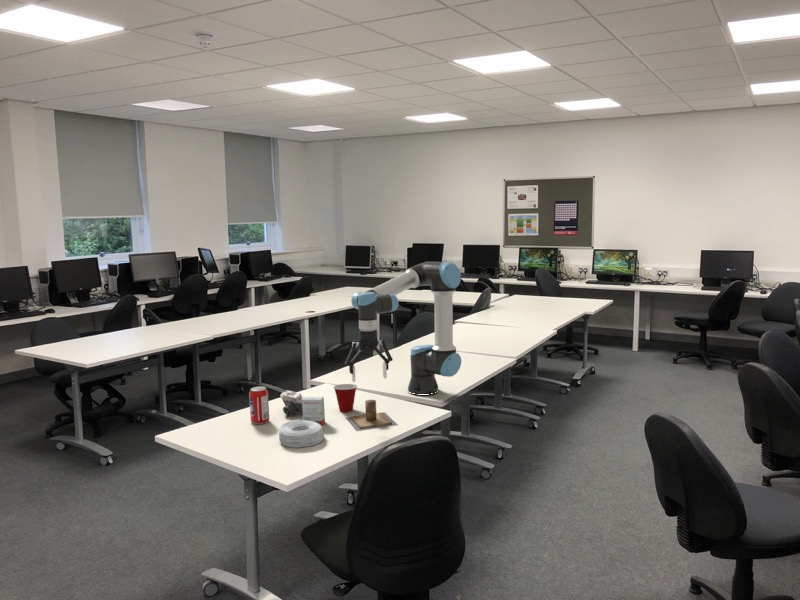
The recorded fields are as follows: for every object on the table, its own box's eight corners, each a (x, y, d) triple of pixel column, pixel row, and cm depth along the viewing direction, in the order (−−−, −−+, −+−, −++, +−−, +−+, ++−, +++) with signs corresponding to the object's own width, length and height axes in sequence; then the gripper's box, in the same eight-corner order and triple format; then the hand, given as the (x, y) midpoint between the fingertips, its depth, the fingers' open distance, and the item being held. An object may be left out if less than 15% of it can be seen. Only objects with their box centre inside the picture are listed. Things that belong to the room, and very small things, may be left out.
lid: (381, 414, 263) (381, 394, 262) (392, 424, 250) (391, 403, 249) (351, 418, 259) (350, 398, 257) (359, 428, 246) (359, 408, 244)
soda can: (266, 425, 255) (264, 390, 253) (248, 425, 255) (246, 391, 253) (271, 418, 262) (269, 385, 260) (253, 419, 263) (251, 385, 261)
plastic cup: (359, 407, 275) (358, 381, 274) (357, 414, 265) (356, 388, 263) (335, 407, 276) (334, 382, 274) (332, 415, 265) (331, 389, 263)
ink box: (325, 423, 255) (324, 396, 254) (323, 427, 251) (321, 399, 249) (305, 422, 256) (304, 396, 255) (303, 426, 252) (301, 399, 250)
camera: (293, 404, 278) (283, 386, 274) (314, 410, 267) (305, 391, 263) (278, 417, 272) (268, 399, 268) (299, 423, 261) (290, 404, 257)
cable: (284, 433, 245) (283, 418, 245) (327, 432, 245) (326, 418, 244) (274, 449, 228) (273, 434, 227) (320, 448, 227) (319, 433, 227)
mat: (384, 413, 266) (384, 412, 266) (398, 426, 249) (398, 425, 249) (345, 418, 260) (345, 417, 260) (356, 432, 243) (356, 431, 243)
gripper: (341, 333, 241) (342, 384, 244) (399, 328, 250) (400, 378, 252) (336, 330, 248) (338, 380, 251) (393, 325, 257) (394, 374, 259)
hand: (369, 379), depth 252 cm, fingers open, 13 cm apart
